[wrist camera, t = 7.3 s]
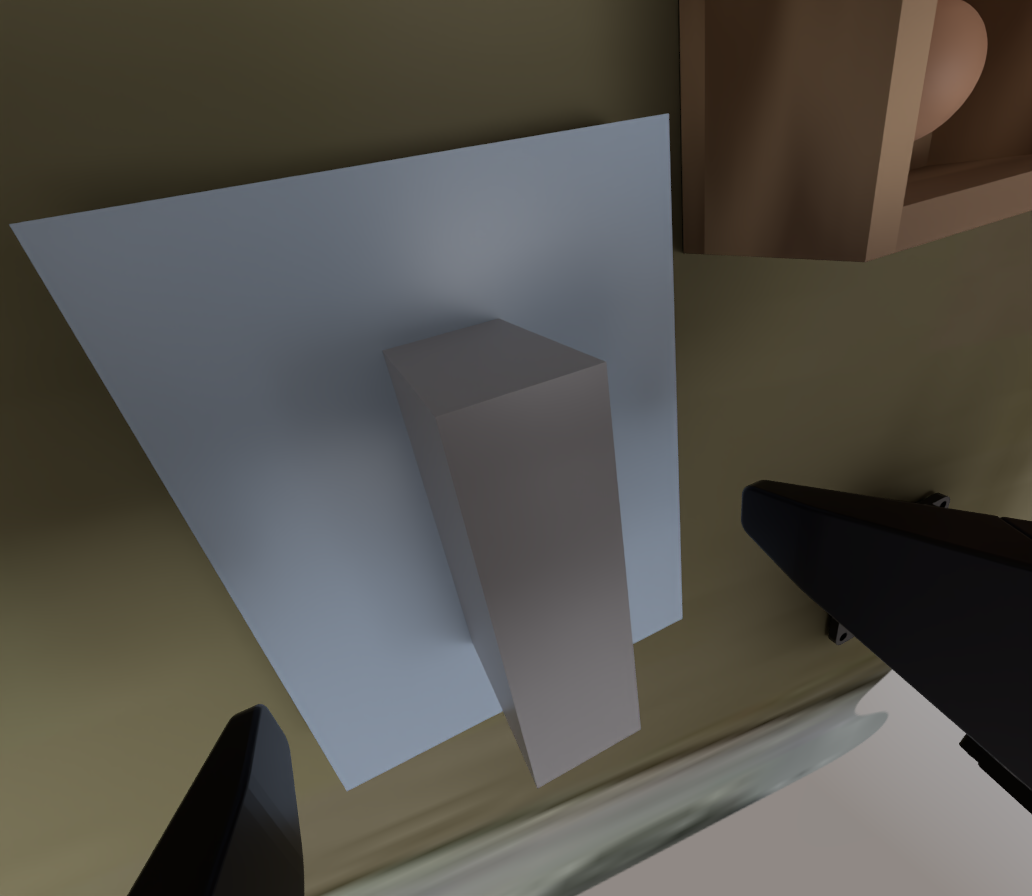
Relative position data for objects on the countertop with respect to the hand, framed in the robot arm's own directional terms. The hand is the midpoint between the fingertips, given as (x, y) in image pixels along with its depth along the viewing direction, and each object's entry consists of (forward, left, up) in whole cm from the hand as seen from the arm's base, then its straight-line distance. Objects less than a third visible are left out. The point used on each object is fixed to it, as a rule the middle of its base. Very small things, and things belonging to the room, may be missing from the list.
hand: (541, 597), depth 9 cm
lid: (0, 0, -5) cm, 5 cm away
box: (+10, -12, -5) cm, 17 cm away
